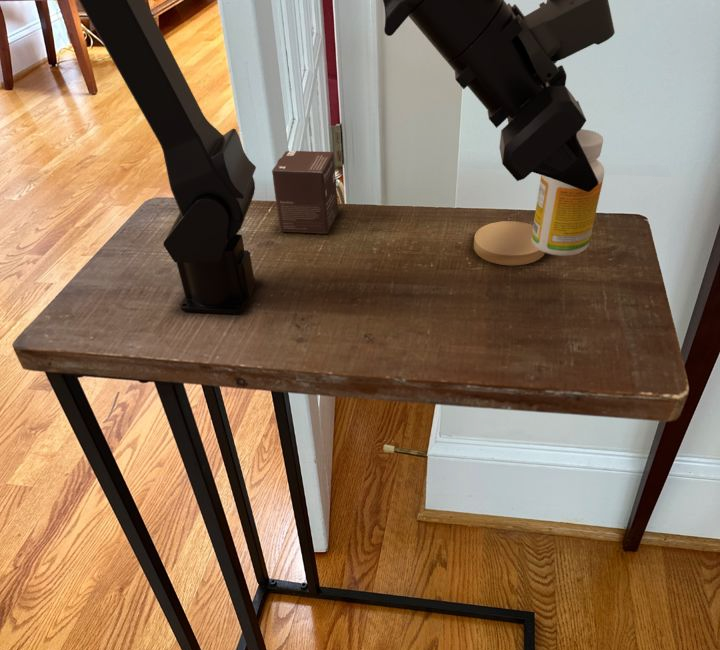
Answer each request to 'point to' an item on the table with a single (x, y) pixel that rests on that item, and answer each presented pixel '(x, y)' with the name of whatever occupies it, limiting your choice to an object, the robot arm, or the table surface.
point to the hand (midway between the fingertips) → (588, 173)
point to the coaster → (506, 243)
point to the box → (305, 191)
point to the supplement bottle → (568, 206)
